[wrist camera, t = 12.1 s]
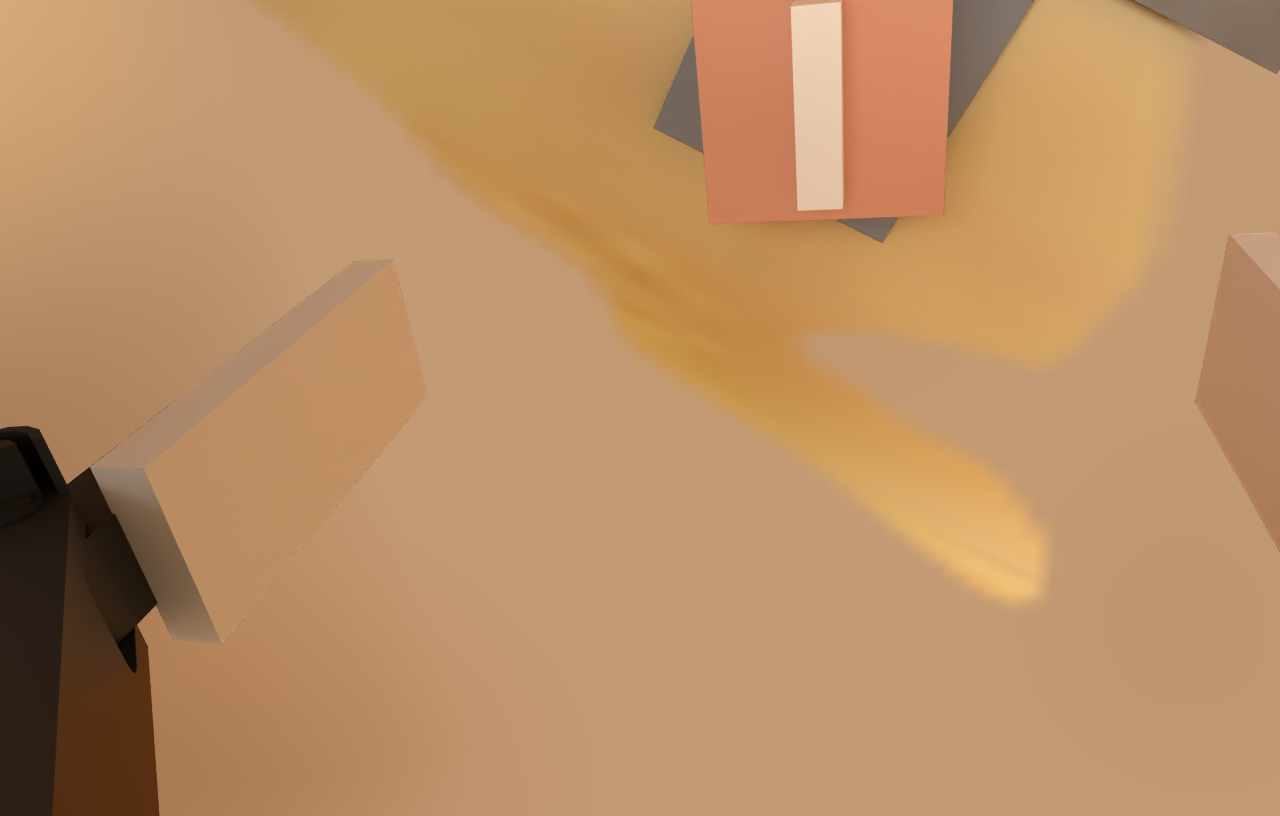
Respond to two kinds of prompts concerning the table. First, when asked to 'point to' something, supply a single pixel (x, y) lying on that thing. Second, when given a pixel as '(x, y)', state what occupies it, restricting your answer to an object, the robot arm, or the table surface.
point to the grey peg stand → (1231, 25)
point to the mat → (979, 34)
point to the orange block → (823, 107)
